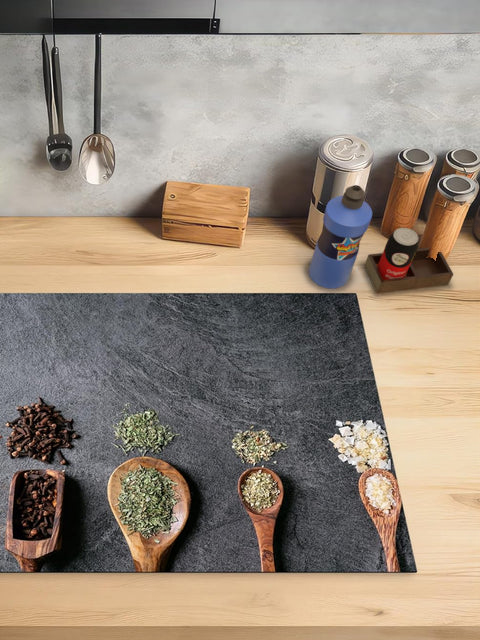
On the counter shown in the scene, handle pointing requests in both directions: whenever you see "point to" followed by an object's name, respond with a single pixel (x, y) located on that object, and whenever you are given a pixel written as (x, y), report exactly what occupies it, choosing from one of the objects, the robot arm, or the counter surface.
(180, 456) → the counter surface
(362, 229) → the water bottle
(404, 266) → the beverage can
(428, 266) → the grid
